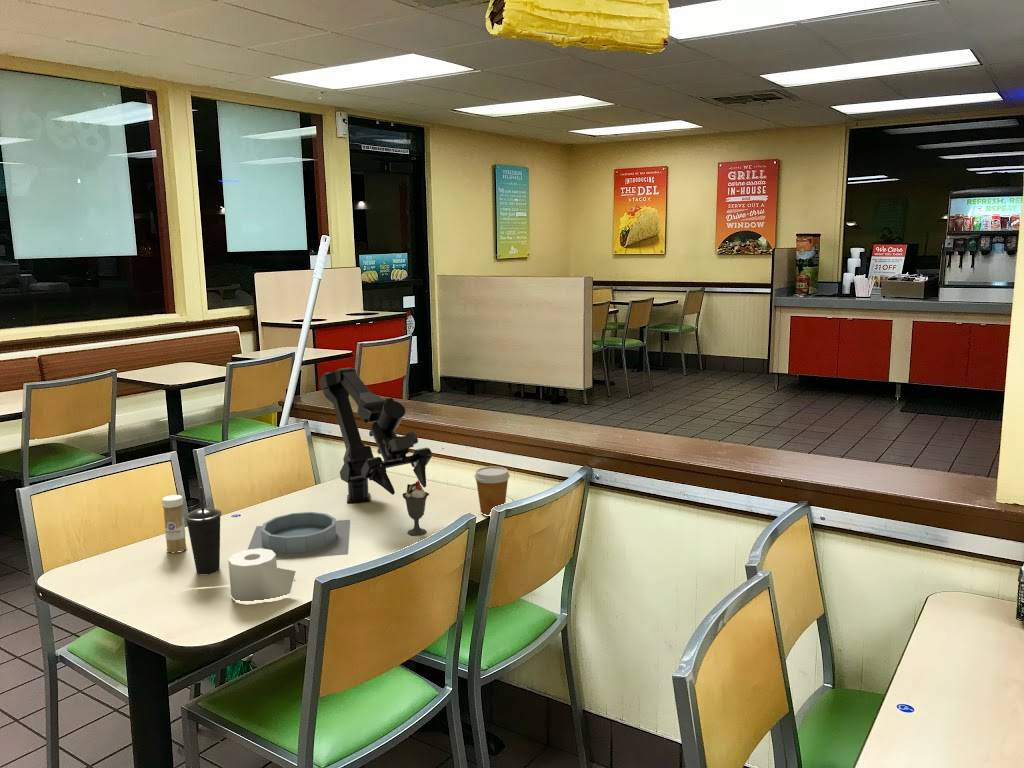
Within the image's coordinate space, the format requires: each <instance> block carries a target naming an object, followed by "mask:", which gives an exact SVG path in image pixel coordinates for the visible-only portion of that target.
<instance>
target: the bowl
mask: <svg viewBox="0 0 1024 768" xmlns="http://www.w3.org/2000/svg"><path fill="white" fill-rule="evenodd" d="M336 521H337V519H336V518H335V517H333V516H332V515H330V514H328V513H325V512H324V513H323V512H316V511H315V512H314V511H304V512H293V513H287V514H284V515H280V516H275V517H273V518H271V519H269V520H267V521H266V522H264V523H263V524H262V525H261V526H262V529H261V537H262V546H263V547H264V548H266V549H269V550H272V551H273V552H278V553H285V554H291V553H304V552H310V551H313V550H317V549H320V548H324V547H326V546H328V545H329V544H331V543H332V542H334V541H335V540H336Z"/></svg>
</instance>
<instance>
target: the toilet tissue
mask: <svg viewBox="0 0 1024 768" xmlns="http://www.w3.org/2000/svg"><path fill="white" fill-rule="evenodd" d="M277 562H278V561H277V560H276V554H275V553H274V552H273V551H272V550H269V549H262V548H258V549H249V550H247V549H244V550H242V551H238V552H236V553H233V554H232V555H231V556H230V557H229V558H228V571H229V573H228V574H229V584H230V585H229V586H230V596H231V595H232V597H233V598H234V599H235V600H240V601H254V600H264V599H270V598H276V597H280V596H283V595H287V594H289V593H290V594H291V591H292V587H293V582H294V580H295V574H296V572H297V571H296V570H291V569H286V568H280V567H278V564H277Z"/></svg>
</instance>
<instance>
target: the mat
mask: <svg viewBox="0 0 1024 768" xmlns="http://www.w3.org/2000/svg"><path fill="white" fill-rule="evenodd" d="M262 526H263V525H256V527H255V528H254V532H253V535H252V536H251V539H250V542H249V544H248V547H247V549H246V550H249V549H258V548H262V549H266V548H264V547H263V546H262V537H261V529H262ZM350 526H351V519H341V520H340V519H339V520H336V540H335V541H334V542H332V543H331V544H329V545H328V546H326V547H324V548H320V549H317V550H313V551H310V552H304V553H291V554H285V553H278V552H274V553H275V554H276V561H278V560H280V561H281V560H292V559H293V560H294V559H306V558H307V559H308V558H319V557H330V556H331V557H333V556H343V555H345V556H346V555H349V546H350V543H349V542H350V529H351V527H350Z"/></svg>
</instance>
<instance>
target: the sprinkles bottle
mask: <svg viewBox="0 0 1024 768" xmlns="http://www.w3.org/2000/svg"><path fill="white" fill-rule="evenodd" d="M161 499H162V500H161V504H162V508H163V518H164V532H165V534H164V535H165V539H166V552H167V551H168V552H167V553H169V552H178V551H182V550H185V549H186V548H187V541H186V527H185V516H184V507H183V506H184V499H183V496H182V495H180V494H171V495H167V496H164V497H162V498H161ZM187 549H188V548H187ZM187 549H186V550H187ZM186 550H185V551H186ZM182 552H183V551H182Z"/></svg>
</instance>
